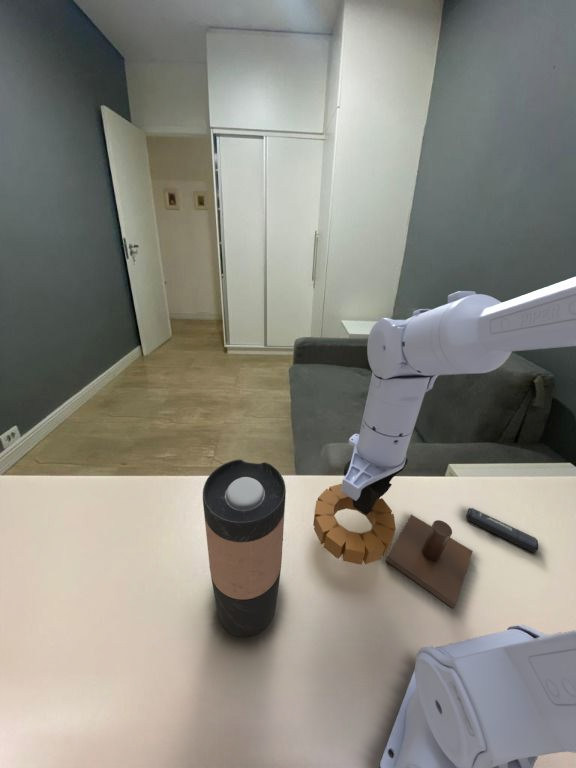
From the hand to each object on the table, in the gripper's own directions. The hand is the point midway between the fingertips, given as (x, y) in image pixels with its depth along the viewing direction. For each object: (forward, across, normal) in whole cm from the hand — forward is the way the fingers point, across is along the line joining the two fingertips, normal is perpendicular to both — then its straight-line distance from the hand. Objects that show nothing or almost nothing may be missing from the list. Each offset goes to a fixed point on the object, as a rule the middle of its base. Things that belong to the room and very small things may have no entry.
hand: (366, 501), depth 42 cm
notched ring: (+1, +4, 0) cm, 4 cm away
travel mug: (+8, +17, -6) cm, 20 cm away
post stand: (+8, -4, +9) cm, 13 cm away
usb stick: (+8, -16, +16) cm, 24 cm away
